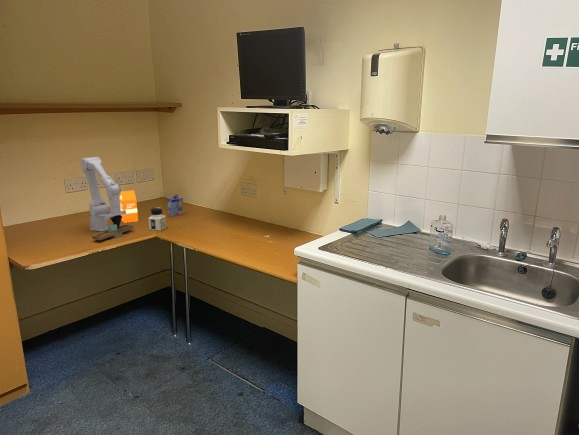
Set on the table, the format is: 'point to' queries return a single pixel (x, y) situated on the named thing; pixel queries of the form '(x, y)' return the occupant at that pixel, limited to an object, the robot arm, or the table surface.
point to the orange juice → (128, 206)
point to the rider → (112, 227)
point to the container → (157, 220)
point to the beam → (112, 234)
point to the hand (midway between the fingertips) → (117, 228)
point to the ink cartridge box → (175, 206)
